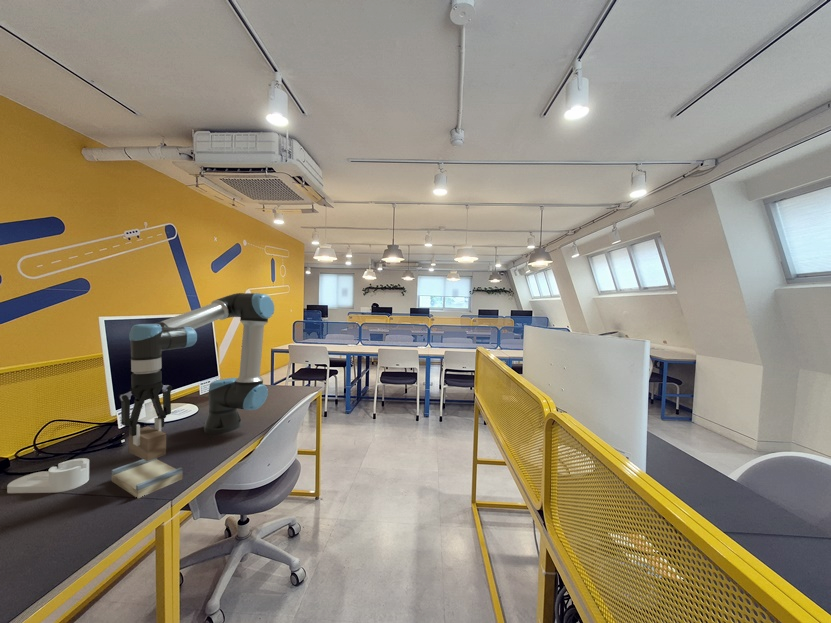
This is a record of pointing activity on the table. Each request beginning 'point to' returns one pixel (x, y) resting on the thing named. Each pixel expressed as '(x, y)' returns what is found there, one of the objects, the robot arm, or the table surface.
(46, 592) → the table surface
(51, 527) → the table surface
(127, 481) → the cream tray
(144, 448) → the brown boxy block
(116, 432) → the table surface
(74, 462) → the white elongated piece
